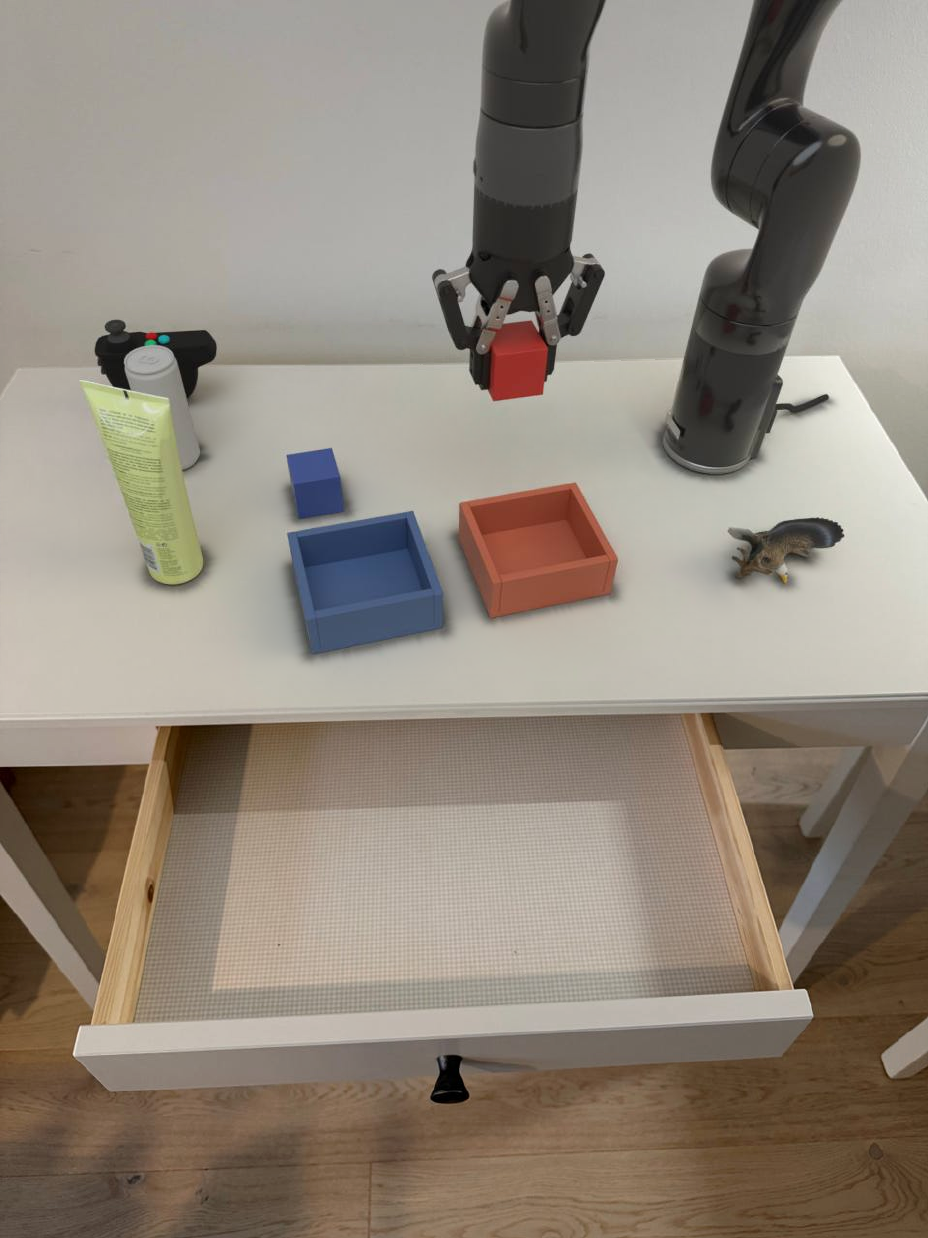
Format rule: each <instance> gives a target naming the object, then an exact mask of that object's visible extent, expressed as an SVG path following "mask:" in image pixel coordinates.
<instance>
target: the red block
mask: <svg viewBox="0 0 928 1238" xmlns="http://www.w3.org/2000/svg"><path fill="white" fill-rule="evenodd" d="M490 352H491V354H492V355H491V373H490V388H489V389H488V390H487V392H488V394H489V396H490V398H491V400H492V402H500V401H507V400H514V399H521V398H522V399H523V398H529V397H537V396H542V395H543V394H544V390H545V382H544V381H545V372H546V363H547V354H548V348H547V346H546V344H545V343H544V341H543V339H542V337H541V336H540V334H539V329H538V328H537V327H536V325H535V324H534V322H533V320H532V319H530V320H522V321H515V322H505V323H503V325H502V327H501V329H500V331H497V332H496V335H495V338H494V340H493V343H492V345H491V348H490Z"/></svg>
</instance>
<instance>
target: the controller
mask: <svg viewBox="0 0 928 1238" xmlns="http://www.w3.org/2000/svg"><path fill="white" fill-rule="evenodd" d="M126 327H127V325H126V322H125V321H124V320H121V319H111V320H109V321H106V323H105V325H104V329H105V331H106V332H107V333H109V334H104V335H101V336H99V337H98V338H97V339H96V342H95V343H94V344H95V346H94V355H95V356H96V357H97V363H96V364H97V366H98V367H100V374H101V375H105V376H106V378H107V380H108V382H109V383H110V386H112V387H116V388H121V389H125V390H130V391H131V388H130V385H129V382H128V379H127V376H126V373H125V364H124V359H125V357H126V355H127V354H129V353H130V352H131V351H133V350H134V349H137V348H139V347H143V346H149V345H158V346H163V347H166V348H168V349H170V350H171V351H172V353H173V355H174V357H175V359H176V361H177V364H178V368H179V371H180V375H181V379H182V383H183V387H184V391H185V394H186V398H187V400H188V399H190V397H191V396H192V395H193V394H194V392H195V390H196V388H197V384H198V380H199V368H201V367H203V366H205V365H207V364H210V363H211V362H213V361H215V359H216V356H217V351H218V350H217V349H218V346H217V342H216V340H215V338H214V337H213V336H212V335H211V333H210V332H209V331H208V330H206V329H197V330H195V329H194V330H179V331H161V332H153V331H149V332H144V331H133V332H128V331H126Z"/></svg>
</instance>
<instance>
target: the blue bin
mask: <svg viewBox="0 0 928 1238" xmlns="http://www.w3.org/2000/svg"><path fill="white" fill-rule="evenodd" d="M286 535H287V541H288V547H289V552H290V557H291V563H292V569H293V573H294V577H295V582H296V583H295V584H296V587H297V590H298V596H299V601H300V605H301V610H302V613H303V614H302V615H303V618H304V622H305V627H306V631H307V635H308V636H307V637H308V642H309V646H310V651H311V654H312V655H315V654H320V653H327V652H330V651H334V650H339V649H346V648H349V647H354V646H359V645H360V646H361V645H365V644H371V643H375V642H379V641H384V640H390V639H393V638H398V637H399V638H400V637H403V636H409V635H414V634H419V633H423V632H429V631H433V630H438V629H443V627H444V626H443V623H444V592H443V588H442V587H441V584H440V582H439V578H438V576H437V572H436V569H435V568H434V565H433V561H432V559H431V556H430V554H429V551H428V548H427V545H426V542H425V540H424V536H423V534H422V531H421V529H420V525H419V523H418V520H417V517H416V515H415V512H414V510H410V511H408V510H407V511H404V512H398V513H392V514H387V515H381V516H375V517H369V518H363V519H358V520H353V521H352V520H351V521H346V522H340V523H335V524H330V525H324V526H317V527H312V528H306V529H300V530H296V531H289V532H286Z"/></svg>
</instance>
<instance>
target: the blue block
mask: <svg viewBox="0 0 928 1238" xmlns="http://www.w3.org/2000/svg"><path fill="white" fill-rule="evenodd" d="M285 458H286V461H287V468H288V474H289V480H290V486H291V487H290V488H291V491H292V496H293V500H294V504H295V508H296V513H297V516H298V519H299V520H302V519H308V518H313V517H319V516H325V515H331V514H336V513H343V512H345V505H344V498H343V488H342V479H341V474H340V471H339V466H338V463H337V460H336V457H335V454H334V450H333V447H328V448H327V447H326V448H321V449H314V450H309V451H303V452H296V453H290V454H289V453H288V454H286V457H285Z"/></svg>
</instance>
